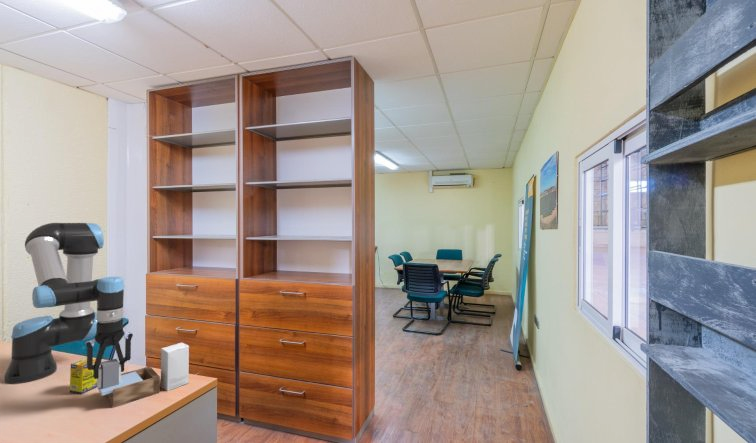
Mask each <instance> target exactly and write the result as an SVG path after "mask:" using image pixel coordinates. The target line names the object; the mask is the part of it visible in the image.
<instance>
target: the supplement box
mask: <svg viewBox="0 0 756 443" xmlns="http://www.w3.org/2000/svg"><path fill="white" fill-rule="evenodd" d="M95 360H96V358H93V365H94V363H95ZM93 375H94V370H88V368H87V357H86V358H83V359H82V360H79V361H75V362H73V363H70V376H69V393H70V394H71V393H72V394H78V395H82V394H84V393H87V392H89V391H91V390H93V389H96V388H97V386H96V382H97V379H94V377H93Z"/></svg>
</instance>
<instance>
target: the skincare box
mask: <svg viewBox="0 0 756 443" xmlns="http://www.w3.org/2000/svg"><path fill="white" fill-rule="evenodd" d="M189 351H190V345H188V344H187V343H184V342H178V343H175V344H172V345H169V346H165V347H161V349H160V359H161V360H160V387H161V388H162V387H163V388H162V389H164V390H166V391H167V392H169V391H171V390H174V389H176V388H179V387H181V386H184V385H186V384H187V385H188V384H189V370H190V368H189V364H190V362H189V361H190V359H189V358H190V357H189V356H190V352H189Z"/></svg>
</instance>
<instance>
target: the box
mask: <svg viewBox="0 0 756 443" xmlns="http://www.w3.org/2000/svg"><path fill="white" fill-rule="evenodd" d="M135 371H136V373H137V374H138V375H139V376H140V377H141V378H142V380H143V381H140V382H136V383H133V384H130V385H126V386H123V387H119V388H116V389H113V393H109V394H106V398H107V399H108V401H109V403H110V405H111V407H112V408H116V407H120V406H123V405H126V404H129V403H132V402H136V401H139V400H142V399H145V398H148V397H150V396H153V395H157V394H160V384H161V375H159V374H158V373H157V372H156V371H155V370H154V369H153V368H152V366H146V367H142V368H138V369H134V370H131V371H127V372H122V373H121V375H124V374H128V373H132V372H135Z"/></svg>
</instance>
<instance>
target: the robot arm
mask: <svg viewBox="0 0 756 443" xmlns="http://www.w3.org/2000/svg"><path fill="white" fill-rule="evenodd" d="M104 240H105V238H104V234H103V231H102V228H101V226H100V225H99V224H97V223H93V222H92V223H91V222H50V223H45V224H42V225H40V226H38V227H36V228H34V230H32V231H31V232H30V233H29V234H28V235H27V237H26V239H25V241H24V248H25V251H26V253H27V254H28V255H30V257H31V261H32V264H33V269H34V274H35V276H36V281H37V285H38V286H35V287H34V288H33V289H32V296H31V297H32V305H33V306H32V307H34V308H35V309H41V308H54V307H61V306H64V309H63V310H62V311H60V312H59V316H58V318H57V317H56V318H53V316H52V315H44V316H38V317H37V316H36V317H32V318H29V319H26V320H23V321H19V322H17V323H16V324H15V325H14V326H13V328H12V332H11V357H10V358H11V359H10V363H9V365H8V367H7V369H6V371H5V374H4V381H5V383H6V384H22V383H28V382H33V381H36V380H40V379H43V378H46V377H48V376H50V375H53V374H54V373H56V371H57V370H58V369H57V368H58V364H57V362H56V359H55V358H54V356H53V353H52V348H53V347H55V346H61V345H65V344H70V343H74V342H75V343H76V342H82V341H84V340H86V341H85V342H84V344H85V346H86V348H87V349H86V358H87V368H88V370H94V375H93V377H94V379H97V386H98V388H101V378H102V369H101V368H100V364H101V362H102V360H103V357H104V354H105V351H106V348H108V347H110V346H111V347H112V346H113V347H114V349H115V351H116V356H117V360H118V362H119V382H121V374H122V373H125V372H124V371H125V363H126V362H127V361H130V360H131V359H132V358H131V356H132V355H131V354H132V353H131V352H132V351H131V350H132V348H131V347H132V339H133V336H134V334H133V333H132V332H125V331H124V318H123V317H124V298H125V297H124V296H125V295H124V294H125V293H124V292H125V291H124V290H125V284H124V283H125V282H124V278H123V277H121V276H107V277H102V278H97V279H93V265H94V256H96V255H97V254H99V250H100V249H102V248H103V247H104ZM59 251H62V254H63V255H64V256H66V258H67V260H66V271H65V269H64V266H63V263H62V259H61V256H60V254H59ZM92 279H93V280H92ZM91 302H96V312H95V309H94V308H93V307H91ZM93 337H94V338H93ZM123 337H124V342H125V344H124V348H125V349H124V350H125V352H124V353H125V354H123V352H122V351H123V350H122V348H121V344H120V341H121V340H122V339H123ZM91 338H92V339H91ZM89 339H90V340H89ZM95 343H97V344H99V347H98V352H97V355H96V358H95V359H96V360H95V363H94V365H93V359H94V357H93V356H94V354H93V352H94V348H93V347H94V345H95ZM98 388H97V389H98Z"/></svg>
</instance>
